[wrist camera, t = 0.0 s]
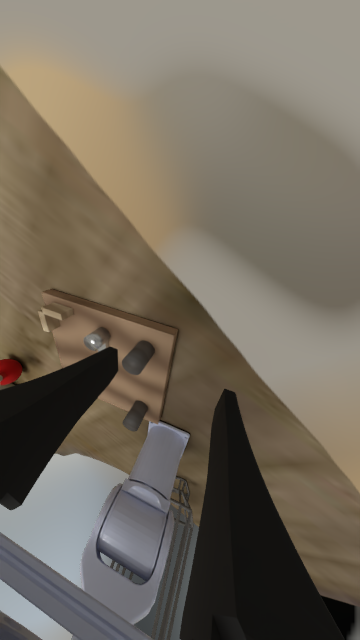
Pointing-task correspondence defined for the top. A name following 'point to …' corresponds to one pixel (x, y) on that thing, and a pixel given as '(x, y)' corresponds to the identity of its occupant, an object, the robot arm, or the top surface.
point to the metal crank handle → (97, 339)
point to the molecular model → (9, 371)
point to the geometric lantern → (177, 565)
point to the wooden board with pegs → (133, 351)
